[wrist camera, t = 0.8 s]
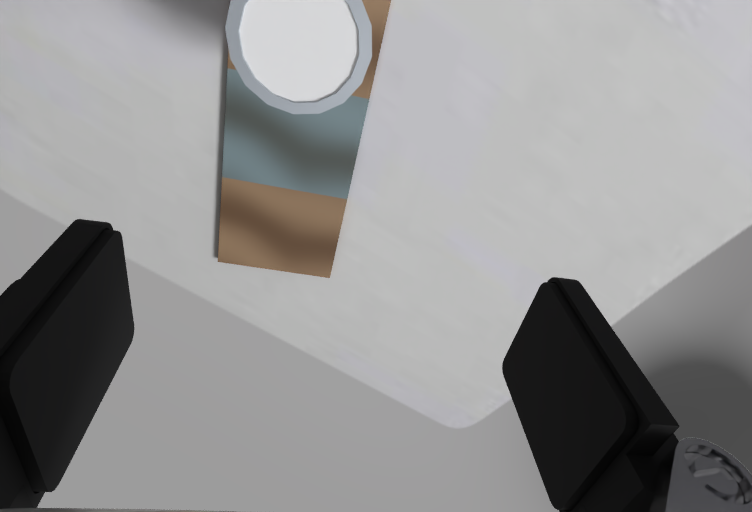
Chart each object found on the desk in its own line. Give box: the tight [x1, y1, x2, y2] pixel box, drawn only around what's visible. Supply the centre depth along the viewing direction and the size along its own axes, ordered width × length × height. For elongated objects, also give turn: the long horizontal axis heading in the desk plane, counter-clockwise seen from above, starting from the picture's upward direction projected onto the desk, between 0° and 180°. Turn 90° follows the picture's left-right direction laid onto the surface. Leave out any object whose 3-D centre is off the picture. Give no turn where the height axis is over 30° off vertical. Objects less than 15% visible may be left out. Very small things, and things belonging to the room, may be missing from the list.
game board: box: [218, 0, 391, 278], centre depth 32 cm, size 22×9×1 cm, turn 167°
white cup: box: [225, 0, 372, 114], centre depth 24 cm, size 7×7×7 cm
